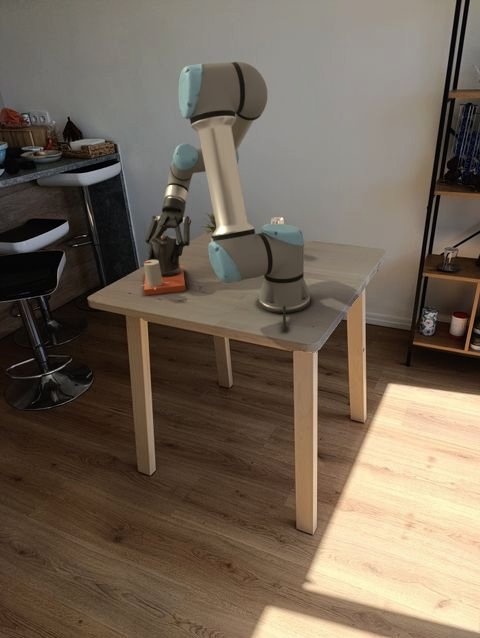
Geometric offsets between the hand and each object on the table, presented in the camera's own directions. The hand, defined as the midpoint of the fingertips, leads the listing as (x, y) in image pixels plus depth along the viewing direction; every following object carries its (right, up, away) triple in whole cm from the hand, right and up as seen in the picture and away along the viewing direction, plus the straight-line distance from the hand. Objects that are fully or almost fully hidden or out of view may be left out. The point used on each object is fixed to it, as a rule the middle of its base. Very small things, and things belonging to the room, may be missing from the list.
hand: (162, 263), depth 160 cm
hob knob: (-2, -7, -3) cm, 8 cm away
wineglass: (+39, +10, +25) cm, 48 cm away
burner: (+1, -2, +5) cm, 6 cm away
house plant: (+17, +10, +27) cm, 33 cm away
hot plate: (0, -6, +3) cm, 7 cm away
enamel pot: (+1, -1, +4) cm, 4 cm away
